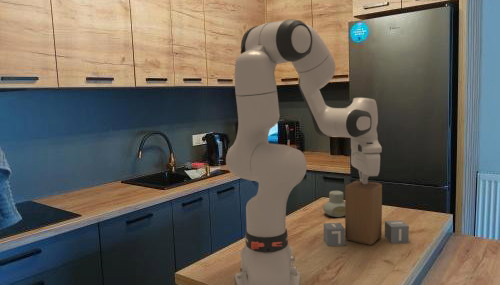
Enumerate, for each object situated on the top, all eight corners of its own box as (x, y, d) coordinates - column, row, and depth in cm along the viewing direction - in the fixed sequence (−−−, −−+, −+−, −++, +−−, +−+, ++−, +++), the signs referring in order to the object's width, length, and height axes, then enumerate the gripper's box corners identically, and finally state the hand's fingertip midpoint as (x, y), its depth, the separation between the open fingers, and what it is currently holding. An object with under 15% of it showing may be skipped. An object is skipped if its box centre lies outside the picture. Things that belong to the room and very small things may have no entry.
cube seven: (345, 245, 131) (345, 228, 130) (327, 246, 131) (327, 228, 130) (340, 238, 137) (340, 222, 136) (323, 239, 137) (323, 222, 136)
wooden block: (356, 231, 143) (356, 179, 141) (382, 237, 137) (383, 182, 134) (344, 240, 136) (344, 185, 133) (371, 246, 129) (372, 188, 127)
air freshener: (344, 211, 168) (344, 189, 167) (352, 217, 160) (352, 193, 158) (320, 213, 166) (320, 190, 165) (327, 219, 158) (327, 195, 157)
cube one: (408, 243, 131) (409, 225, 131) (391, 243, 131) (391, 226, 130) (401, 236, 138) (401, 219, 137) (384, 237, 137) (384, 220, 137)
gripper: (346, 140, 142) (346, 177, 144) (364, 148, 122) (363, 191, 124) (363, 140, 142) (363, 176, 144) (383, 148, 122) (383, 190, 124)
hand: (363, 183), depth 134 cm, fingers closed
